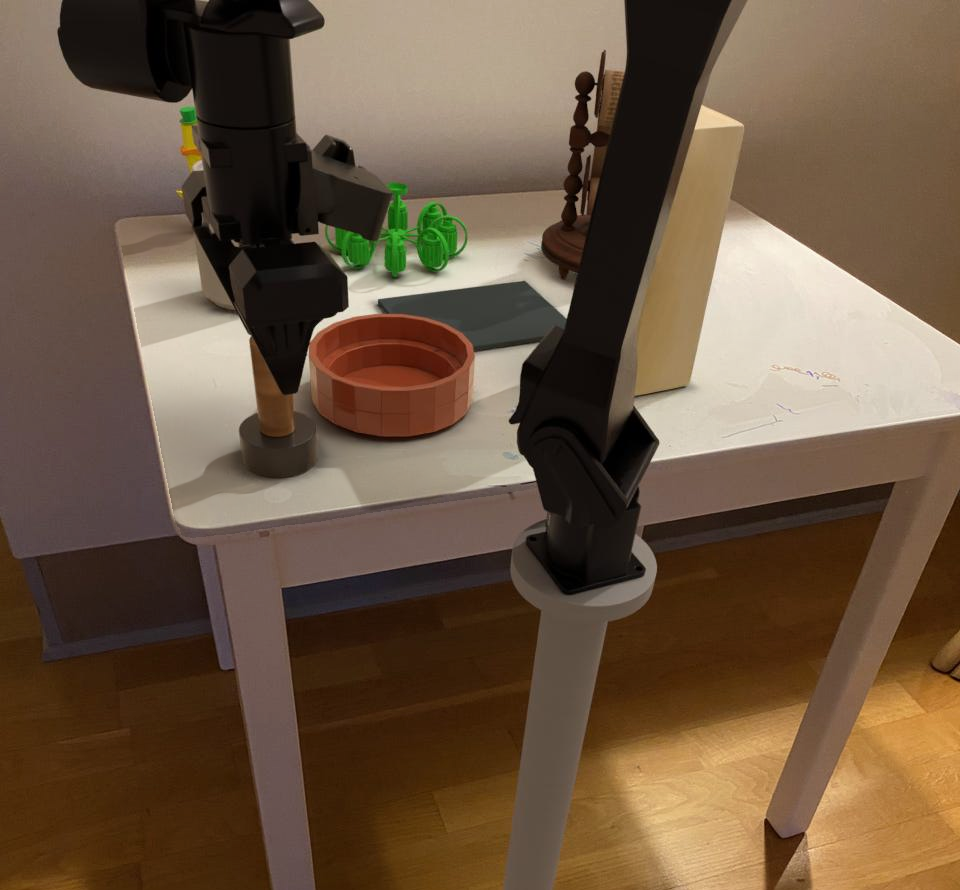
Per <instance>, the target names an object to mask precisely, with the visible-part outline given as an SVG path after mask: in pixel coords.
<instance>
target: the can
mask: <svg viewBox="0 0 960 890" xmlns="http://www.w3.org/2000/svg"><path fill="white" fill-rule="evenodd" d="M200 170H203V164H202V160H200V161H198V162H196V163H195V164H194V165H193V166H192V171H200ZM202 222H204V221H203V214H202ZM193 237H194V238H193V239H194V244H195V250H196V252H195V253H196V257H197V258H196V259H197V264H198V271H199V277H200V286H201V291H202V294H203V295H204V296H205V297H206V298H207V299H209V300H210V301H211V302H213V303H214V305H216V306H218V307H220V308H221V309H222V308H223V309H226V310H230V311H236V310H235V308H234V307H233V305H232V303H231V301H230V299H229V297H228V295H227V293H226V291H225V290H224V288H223V286H222V284H221V282H220V280H219V279H218V277H217V275H216V273H215V271H214V269H213V267H212V265H211V264H210V262H209V260H208V258H207V256H206V254H205V252H204V250H203V249H202V247H201V245H200V243H199V241H198V239H197V237H196V235H195V234H194V233H193Z"/></svg>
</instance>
